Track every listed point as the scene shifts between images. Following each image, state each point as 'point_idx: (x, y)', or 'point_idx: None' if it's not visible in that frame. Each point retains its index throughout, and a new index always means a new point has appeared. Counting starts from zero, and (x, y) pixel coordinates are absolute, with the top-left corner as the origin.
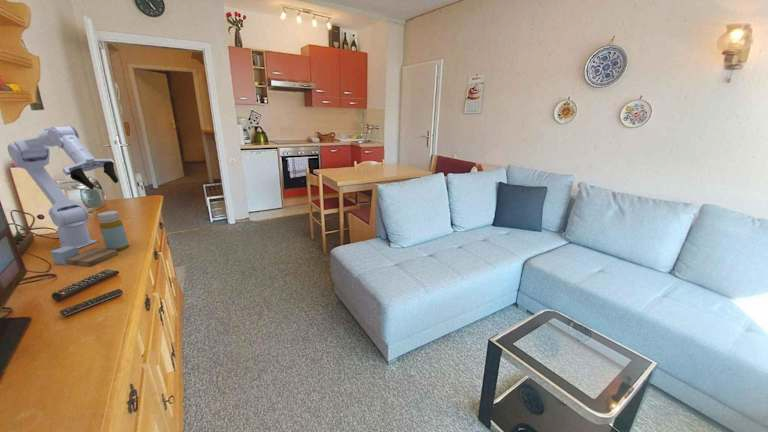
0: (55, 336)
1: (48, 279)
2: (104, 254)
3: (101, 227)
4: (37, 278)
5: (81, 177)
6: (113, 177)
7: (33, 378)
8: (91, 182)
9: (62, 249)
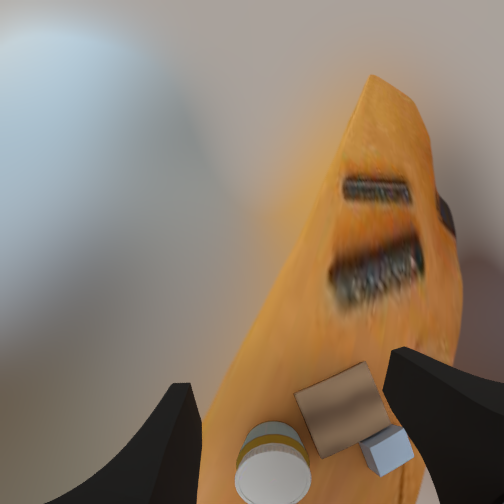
0: (409, 154)
1: None
2: (326, 384)
3: (308, 457)
4: None
5: (491, 384)
6: (187, 423)
7: (411, 119)
8: (412, 363)
9: (395, 453)
